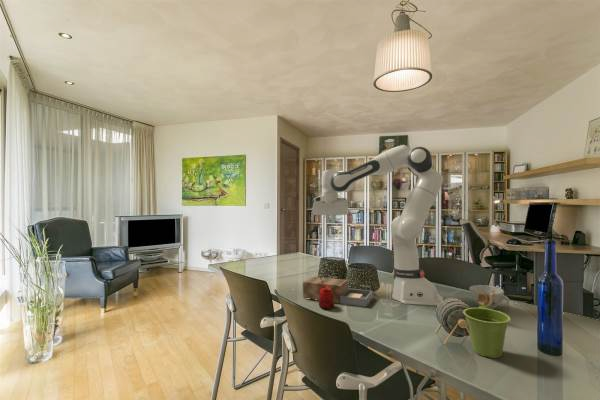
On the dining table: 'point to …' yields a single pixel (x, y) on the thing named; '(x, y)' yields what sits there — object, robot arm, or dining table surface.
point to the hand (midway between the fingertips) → (330, 223)
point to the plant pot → (487, 330)
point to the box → (356, 301)
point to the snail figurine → (485, 300)
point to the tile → (355, 295)
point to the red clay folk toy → (326, 297)
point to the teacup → (488, 290)
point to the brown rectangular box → (315, 285)
